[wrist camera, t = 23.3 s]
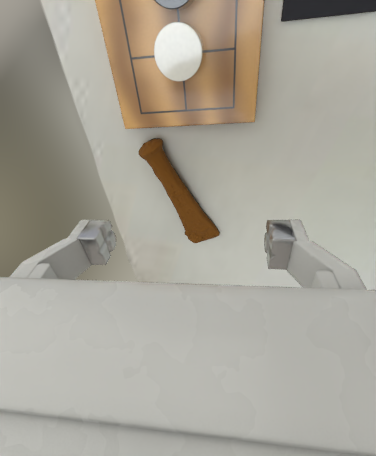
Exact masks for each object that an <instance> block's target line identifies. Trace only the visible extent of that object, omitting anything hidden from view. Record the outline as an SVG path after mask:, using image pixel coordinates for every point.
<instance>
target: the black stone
mask: <svg viewBox="0 0 376 456" xmlns="http://www.w3.org/2000/svg"><path fill="white" fill-rule="evenodd" d="M154 1H155V2H156V3H157V4H159V5H160V6H162V7H163V8H166V9H169V10H173V11H181V10H184V9H186V8H188V7H189V6H190V5H191V4H192V3H193V2H194V1H195V0H154Z"/></svg>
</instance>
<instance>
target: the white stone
mask: <svg viewBox="0 0 376 456" xmlns="http://www.w3.org/2000/svg"><path fill="white" fill-rule="evenodd" d="M154 57H155V61H156V64H157V66H158V68H159V70H160V71H161V73H162V74H163V75H164V76H166V77H167V78H168V79H170V80H173V81H185V80H187V79H189V78H191V77H192V76H193V75H194V74H195V73H196V72H197V70H198V69H199V67H200V65H201V63H202V61H203V57H204V44H203V40H202V37H201V35H200V33H199V32H198V31H197V29H196V28H195V27H193V26H192V25H190V24H188V23H184V22H172V23H169V24H167V25H166V26H165V27H163V28H162V29H161V31H160V32H159V33H158V35H157V38H156V40H155V45H154Z"/></svg>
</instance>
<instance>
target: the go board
mask: <svg viewBox="0 0 376 456" xmlns="http://www.w3.org/2000/svg"><path fill="white" fill-rule="evenodd" d="M95 2H96V6H97V11H98V15H99V19H100V23H101V27H102V32H103V36H104V40H105V44H106V49H107V53H108V57H109V61H110V66H111V70H112V74H113V78H114V83H115V87H116V91H117V95H118V100H119V104H120V108H121V112H122V116H123V121H124V125H125V129H134V128H152V127H171V126H189V125H208V124H226V123H244V122H255V111H256V99H257V86H258V73H259V61H260V48H261V36H262V23H263V10H264V0H195V1H194V2H193V3H192V4H191V5H190V6H189V7H188V8H186V9H184V10H181V11H173V10H169V9H166V8H163V7H162V6H160V5H159V4H157V3H156V2H155V1H154V0H95ZM172 22H184V23H188V24H190V25H192V26H193V27H195V28H196V29H197V31H198V32H199V33H200V35H201V37H202V40H203V44H204V57H203V61H202V63H201V65H200V67H199V69H198V70H197V72H196V73H195V74H194V75H193V76H192V77H191V78H189V79H187V80H185V81H173V80H170V79H168V78H167V77H166V76H164V75H163V74H162V73H161V71H160V70H159V68H158V66H157V64H156V61H155V57H154V45H155V40H156V38H157V35H158V33H159V32H160V31H161V29H162V28H163V27H165V26H166V25H167V24H169V23H172Z"/></svg>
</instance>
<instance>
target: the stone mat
mask: <svg viewBox="0 0 376 456" xmlns="http://www.w3.org/2000/svg"><path fill="white" fill-rule="evenodd" d="M372 11H376V0H284V2H283V10H282V19H281V21H289V20H298V19H308V18H317V17H326V16H335V15H344V14H354V13H363V12H372Z"/></svg>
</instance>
